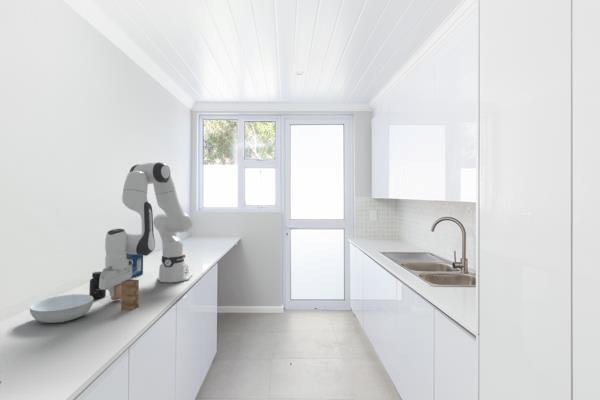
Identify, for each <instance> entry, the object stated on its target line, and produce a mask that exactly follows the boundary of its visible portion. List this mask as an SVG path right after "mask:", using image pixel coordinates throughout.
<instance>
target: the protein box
mask: <svg viewBox="0 0 600 400" xmlns="http://www.w3.org/2000/svg"><path fill="white" fill-rule="evenodd" d="M126 255H127V259H128V260H132V261H133V264H132V277H131V279H133V277H134V278H137V277H140V276H142V274H144V255H138V254H126ZM139 275H140V276H139ZM136 276H137V277H136Z"/></svg>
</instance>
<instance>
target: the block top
mask: <svg viewBox="0 0 600 400" xmlns="http://www.w3.org/2000/svg"><path fill="white" fill-rule="evenodd" d="M139 281H140V280H139V279H132V278H131V279H128V280H125V281H123V282H121V291H122V292H133V291H135V290H137V289H139V287H140V285H139V284H140V282H139ZM139 290H140V289H139Z"/></svg>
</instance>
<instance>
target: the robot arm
mask: <svg viewBox="0 0 600 400" xmlns="http://www.w3.org/2000/svg"><path fill="white" fill-rule="evenodd" d="M150 184H151V185H153V189H154V190H153V191H154V195H155V198H156V204H157V205H158V207H159V209H161V210H162V211H163V212H162V213H158V214H156V215H155V216H154V217H153V207H152V204H151V203H150V202H149V200H148V189H149V188H148V187H149V186H148V185H150ZM121 198H122V199H121V200H122V203H123V205H124V206H125V208H127V209H129V210H132V211H133V212H136V213H137V214H138V215H139V216H140V218H141V219H140V220H141V234H131V233H127V232H126V230H125V229H124V228H114V229H110V230H108V231H107V232H106V236H105V239H104V241H105V245H104V250H105V259H104V261H105V262H104V263H105V265H104V266H105V268H103V270H102V271H100V272H101V274H100V279H99V288H100V289H101V290H106V291H107V290H108V292H109V297H111V296H114V295H115V292H114V290H113V289H114V286H116V285H118V284H121V282H123V281H125V280H128V279H131V280H132V278H131V277H132V264H133V261H132V260H128V259H127V255H126V254H138V255H143V257H144V256H145V257H146V256H148V255H150V254H152V253H153V251H154V250H155V247H156V241H155V240H156V238H155V234H154V228H155V229H156V230H157V232H158V234H159V236H160V238H161V244H162V255H161V264H160V265H159V270H158V277H156V280H157V281H159V282H161V283H179V282H185V281H189V280H190V279H191V278H192V277H193V275H194V274H193V273H192V272H189V271H190V267H189V265H188V264H187V263H186V262H185V258H186V254H183V253H184V252H183V250H184V248H183V246H184V244H183V240H182V239H181V238H180V237H179V235H178V233H179V234H181V233H182V234H183V233H187V232H189V231H191V229H192V228H193V224H194V222H193V219H192V217H191V216H190V215H189V214H188V213H187V212H186V211H185V210H184V208H183V207H182V205H181V203H180V201H179V198H178V195H177V191H176V186H175V182H174V181H173V179H172V176H171V169H170V167H169V165H167V163H165V162H160V161H159V162H146V163H141V164H140V163H138V164H135V165H133V166H131V167H130V170H129V172H128V173H127V175H126V179H125V181H124V184H123V188H122V195H121Z"/></svg>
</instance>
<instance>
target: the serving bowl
mask: <svg viewBox="0 0 600 400" xmlns="http://www.w3.org/2000/svg"><path fill="white" fill-rule="evenodd" d="M94 300H95V299H94V298H93V297H92V296H90V295H89V294H84V293H82V294H81V293H79V294H78V293H76V294H75V293H73V294H65V295H58V296H57V295H56V296H52V297H48V298H44V299H41V300H38V301H36V302H34V303H32V304H31V305H29V312H30V313H29V314H30V315H31V317H32V318H33V319H34V320H36V321H38V322H41V323H48V324H56V323H57V324H59V323H65V322H70V321H72V320H75V319H77V318H80V317H82V316H83V315H85V314H86V313H88V311H90V310H91V308H92V307H93V303H94Z"/></svg>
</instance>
